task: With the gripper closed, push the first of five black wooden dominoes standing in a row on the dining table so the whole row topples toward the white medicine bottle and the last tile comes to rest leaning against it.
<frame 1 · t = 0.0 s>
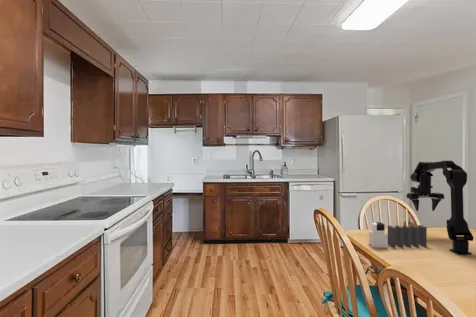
hand: (425, 210, 180), 15 cm above the table, tool pointing down, fingers open, 9 cm apart
domino 2: (414, 245, 164), on the table
domino 4: (399, 245, 164), on the table
domino 5: (391, 245, 163), on the table
domino 1: (422, 245, 164), on the table
domino 3: (406, 245, 164), on the table
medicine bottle: (378, 246, 163), on the table
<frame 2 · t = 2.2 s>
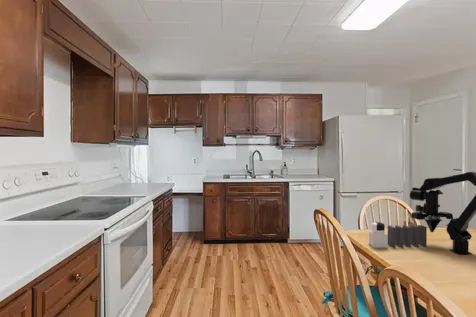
hand: (431, 232, 163), 7 cm above the table, tool pointing down, fingers closed
nothing on the table moved.
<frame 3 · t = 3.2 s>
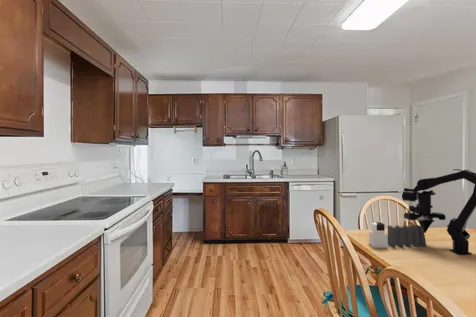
hand: (424, 232, 164), 7 cm above the table, tool pointing down, fingers closed
domino 1: (422, 245, 164), on the table, tilted 10°
everything else where it was.
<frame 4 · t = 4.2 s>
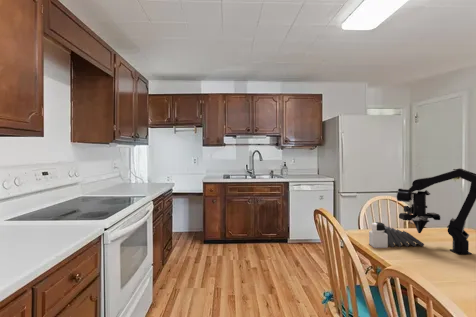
hand: (419, 232, 163), 6 cm above the table, tool pointing down, fingers closed
domino 2: (413, 244, 164), point 1 cm above the table, tilted 48°, touching domino 1, domino 3
domino 4: (398, 244, 164), on the table, tilted 30°, touching domino 3, domino 5
domino 5: (391, 245, 164), on the table, tilted 17°, touching domino 4, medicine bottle
domino 1: (420, 244, 164), point 1 cm above the table, tilted 54°, touching domino 2
domino 3: (405, 244, 164), on the table, tilted 40°, touching domino 2, domino 4
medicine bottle: (378, 246, 163), on the table, touching domino 5
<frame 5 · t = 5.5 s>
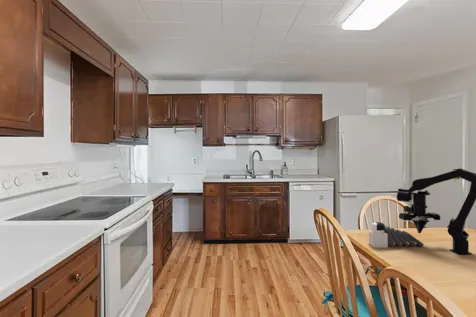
hand: (419, 232, 163), 6 cm above the table, tool pointing down, fingers closed
domino 4: (398, 244, 164), on the table, tilted 30°, touching domino 3
domino 5: (391, 245, 164), on the table, tilted 17°
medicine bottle: (378, 246, 163), on the table
everything else where it was.
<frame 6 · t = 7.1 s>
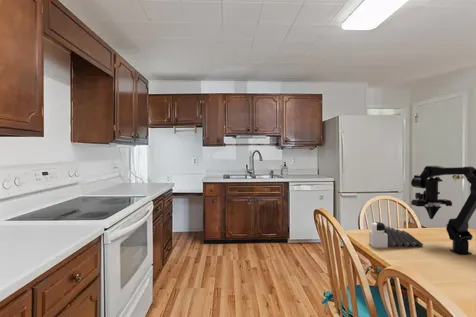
hand: (431, 219, 166), 13 cm above the table, tool pointing down, fingers closed
domino 4: (398, 244, 164), on the table, tilted 30°, touching domino 3, domino 5
domino 5: (391, 245, 164), on the table, tilted 17°, touching domino 4, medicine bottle
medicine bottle: (378, 246, 163), on the table, touching domino 5
everything else where it was.
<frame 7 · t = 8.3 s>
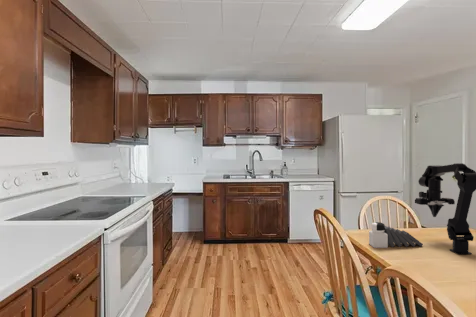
hand: (434, 216, 171), 13 cm above the table, tool pointing down, fingers closed
domino 2: (412, 244, 164), point 1 cm above the table, tilted 46°, touching domino 3
domino 1: (419, 244, 164), point 1 cm above the table, tilted 52°
everything else where it was.
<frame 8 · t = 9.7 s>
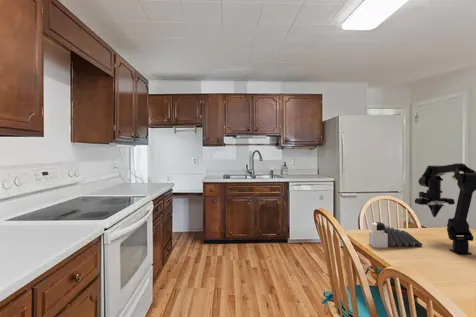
hand: (434, 216, 171), 13 cm above the table, tool pointing down, fingers closed
domino 2: (411, 244, 164), point 1 cm above the table, tilted 46°, touching domino 1, domino 3
domino 1: (419, 244, 164), point 1 cm above the table, tilted 52°, touching domino 2
everything else where it was.
at the end: domino 5 tilted 17°; domino 1 tilted 51°; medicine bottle tilted 0° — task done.
